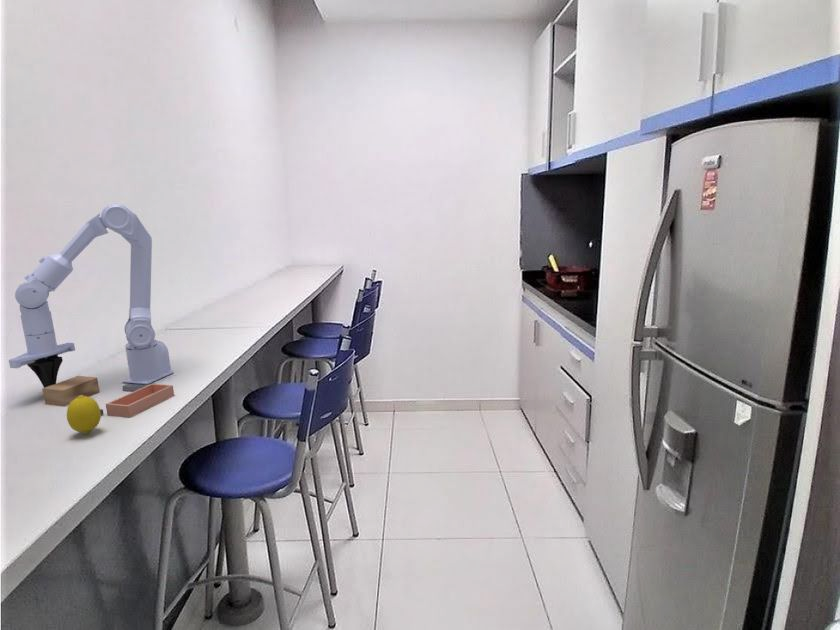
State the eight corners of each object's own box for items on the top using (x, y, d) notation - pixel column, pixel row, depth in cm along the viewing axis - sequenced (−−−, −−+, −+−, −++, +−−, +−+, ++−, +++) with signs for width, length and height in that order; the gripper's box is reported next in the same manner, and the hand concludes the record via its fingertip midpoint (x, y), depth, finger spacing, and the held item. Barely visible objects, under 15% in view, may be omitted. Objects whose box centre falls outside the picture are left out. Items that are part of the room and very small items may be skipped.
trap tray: (153, 393, 125) (151, 383, 124) (174, 395, 123) (172, 385, 122) (107, 415, 112) (105, 404, 112) (129, 417, 111) (128, 406, 110)
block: (80, 391, 128) (77, 375, 127) (99, 393, 127) (97, 377, 126) (45, 405, 120) (42, 388, 119) (65, 407, 118) (62, 390, 117)
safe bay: (127, 388, 128) (127, 383, 128) (154, 391, 126) (153, 386, 126) (68, 414, 113) (67, 408, 113) (97, 417, 111) (96, 412, 111)
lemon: (97, 425, 107) (90, 388, 105) (108, 432, 104) (101, 394, 102) (66, 435, 103) (59, 396, 101) (76, 442, 99) (69, 402, 98)
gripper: (55, 324, 130) (65, 377, 133) (-6, 339, 116) (6, 397, 119) (77, 325, 128) (86, 378, 131) (18, 341, 114) (29, 400, 117)
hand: (50, 388), depth 125 cm, fingers closed
